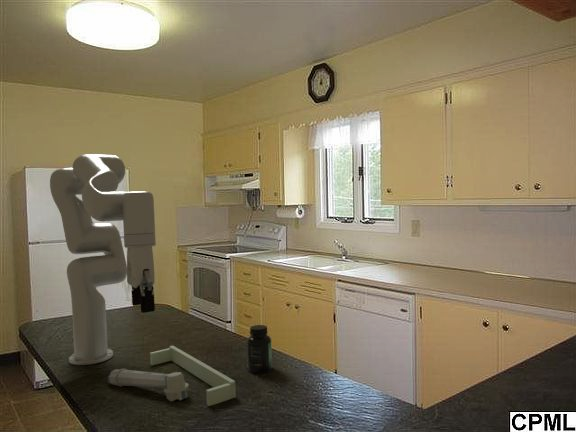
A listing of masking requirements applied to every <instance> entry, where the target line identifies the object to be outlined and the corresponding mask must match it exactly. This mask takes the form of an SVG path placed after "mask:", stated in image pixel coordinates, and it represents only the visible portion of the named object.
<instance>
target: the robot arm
mask: <svg viewBox="0 0 576 432" xmlns="http://www.w3.org/2000/svg"><path fill="white" fill-rule="evenodd" d="M125 177H126V166H125V163H124V161H123V160H122V159H121V158H120V157H119V156H117V155H113V154H97V153H95V154H94V153H93V154H92V153H91V154H89V153H87V154H82V155H79V156H78V157H76V158H75V159H74V161H73V162H72V167H64V168H58V169H56V170H54V171H53V172H52V173H51V174H50V179H49V187H50V188H49V189H50V194H51V196H52V199H53V202H54V203H55V205H56V207H57V209H58V211H59V214H60V217H61V222H62V227H63V232H64V237H65V242H66V247H67V249H68V251H69V252H70V253H71V254H73V255H87V254H97V253H98V254H99V253H103V254H102V255H101V254H100V255H92V256H83V257H79V258H75V259H73V260H72V261H70V262H69V263H68V265H67V267H66V276H67V283H68V285H69V291H70V298H71V313H72V314H71V317H72V331H73V333H72V336H73V351H74V352H73V353H72V354H71V355H70V356H69V357H68V362H69V364H71V365H76V366H87V365H89V366H90V365H95V364H98V363H103V362H105V361H107V360H110V359H111V358H112V357H113V356H114V351H113V349H111V348H108V330H107V329H108V327H107V309H106V306H107V305H106V300H105V298H104V296H103V295H102V293H100V291H99V290H98V289H97V288H98V287H99V288H100V287H102V286H110V285H115V284H119V283H122V282H124V281H125V280H126V282H127V284H128V285H129V286H131V287H130V289H131V305H132V306H140V312H141V313H142V314H144V313H145V314H146V313H150V312H155V309H156V307H155V291H154V289H155V288H154V284H155V276H156V275H155V261H154V253H153V247H154V246H156V245H157V244H156V224H155V223H156V222H155V202H154V201H155V200H154V195H153V193H152V192H150V191H147V190H146V191H141V190H140V191H117V190H118V187H119V184H121V182H122V181H123V180H124V179H125ZM77 195H81V199H80V198H79V197H78V196H77ZM93 220H96V221H97V223H96V222H94V221H93ZM115 221H118V222H119V221H120V222H121V221H122V222H123V223H122V224H123V243H122V237H121V233H120V231H119V229H118V228H117V226H116V225H115V224H113V223H111V222H115ZM123 244H124V246H123ZM124 248H125V249H127V250H126V256H125V251H124Z"/></svg>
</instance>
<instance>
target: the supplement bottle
mask: <svg viewBox="0 0 576 432" xmlns="http://www.w3.org/2000/svg"><path fill="white" fill-rule="evenodd" d="M249 334H250V336H248V338H247V340H246V352H247V353H246V354H247V355H246V356H247V357H246V358H247V370H248V371H249V372H250V373H253V374H265V373H268V372H270V371H271V370H272V368H273V357H272V354H273V353H272V351H273V350H272V338H271V337H270V335H268V334H269V333H268V326H267V325H264V324H256V325H251V326H250V328H249Z"/></svg>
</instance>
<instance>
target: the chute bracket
mask: <svg viewBox="0 0 576 432" xmlns="http://www.w3.org/2000/svg"><path fill="white" fill-rule="evenodd" d="M149 361H150V362H149V363H150V366H155V365H159V364H163V363H166V362H173V363H174V364H176V365H178V366H179V367H181V368H182V369H184V370H186V371H187V372H189V373H190V374H192V375H194V376H195V377H197V378H198V379H200V380H201V381H203V382H204V383H206V384H208V385H210V388H207V389H205V396H206V406H207V407H210V406H214V405H217V404H220V403H222V402H226V401H229V400H231V399H235V398H236V397H237V394H236V393H237V392H236V380H234V379H233V378H230V377H229V376H227V375H225V374H224V373H221V371H219V370H216V369H214V368H213V367H211V366H210V365H208V364H206V363H204V362H202V361H201V360H199V359H197V358H196V357H194V356H192V355H190V354H189V353H187V352H185V351H184V350H182V349H180V348H178V347H176V346H174V345H170V346H169V347H168V348H165V349H160V350H156V351H153V352H152V351H151V352H149Z"/></svg>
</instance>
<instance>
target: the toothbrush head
mask: <svg viewBox="0 0 576 432" xmlns="http://www.w3.org/2000/svg"><path fill="white" fill-rule="evenodd" d="M106 380H107V383H108V384H109V385H113V386H119V387H121V388H122V387H123V386H124V387H125V386H127V387H131V386H132V387H150V388H151V387H153V388H154V387H155V388H156V387H157V388H163V392H164V393H165V396H166V397H165V398H166V399H167V400H168V401H169V402H174V401H176V400H178V401H182V400H184V399H187V398H188V397H189V388H190V387H189V386H190V385H189V383H188V382H186V381H185V377H184V375H183V372H181V371H179V372H177V371H174V372H171V373H169V374H168V373H161V372H151V371H141V370H132V369H131V370H130V369H126V368H125V367H123V368H121V369H119V368H118V369H116V368H115V369H112V370H110V371H109V372H108V375H107V379H106Z"/></svg>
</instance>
